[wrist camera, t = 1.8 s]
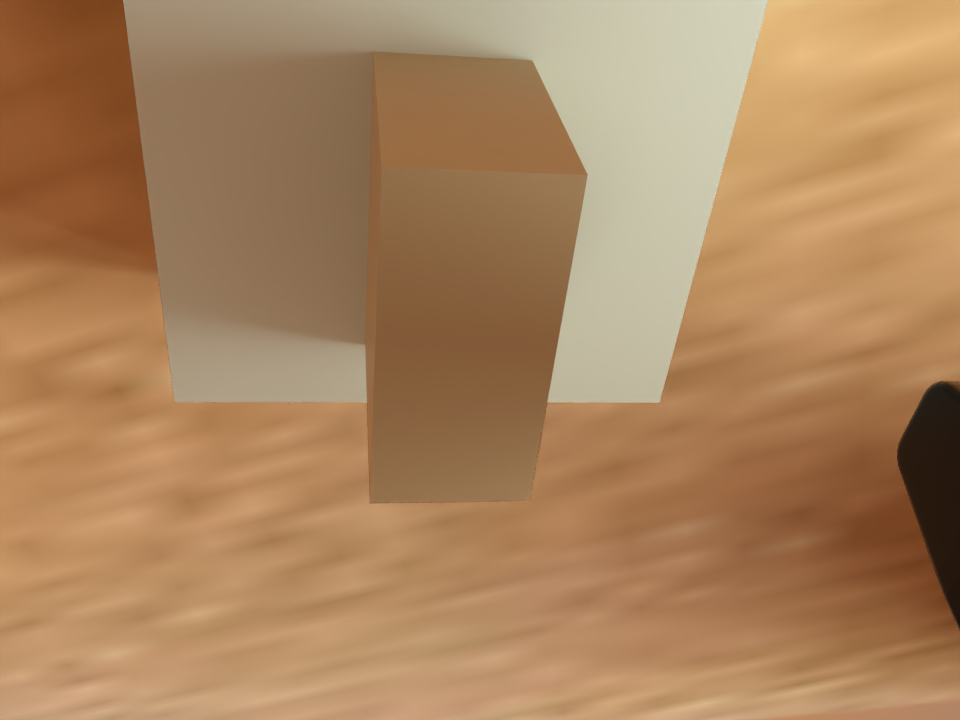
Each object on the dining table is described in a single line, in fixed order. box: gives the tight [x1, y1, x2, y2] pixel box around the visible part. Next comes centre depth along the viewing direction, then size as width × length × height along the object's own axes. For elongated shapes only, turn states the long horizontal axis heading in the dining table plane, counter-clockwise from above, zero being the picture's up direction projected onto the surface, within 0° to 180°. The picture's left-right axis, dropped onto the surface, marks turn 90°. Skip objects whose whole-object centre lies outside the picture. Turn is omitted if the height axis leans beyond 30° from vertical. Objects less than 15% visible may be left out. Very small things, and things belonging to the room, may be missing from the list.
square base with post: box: [123, 0, 768, 503], centre depth 12 cm, size 6×7×6 cm
